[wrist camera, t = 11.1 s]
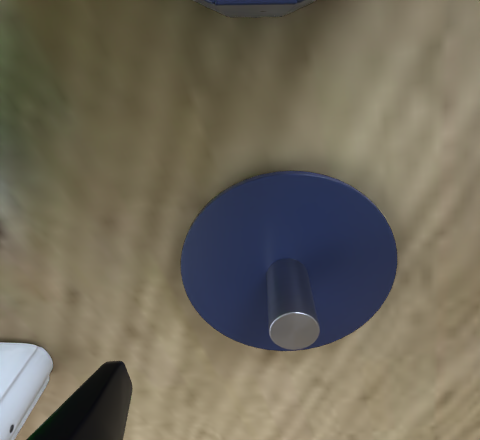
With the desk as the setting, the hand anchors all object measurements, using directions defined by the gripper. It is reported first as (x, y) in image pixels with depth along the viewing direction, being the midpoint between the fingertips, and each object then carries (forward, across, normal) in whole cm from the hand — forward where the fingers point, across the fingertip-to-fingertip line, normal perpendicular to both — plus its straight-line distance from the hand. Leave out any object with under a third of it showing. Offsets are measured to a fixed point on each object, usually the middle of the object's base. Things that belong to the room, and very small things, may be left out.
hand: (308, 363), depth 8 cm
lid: (+12, 0, +6) cm, 13 cm away
